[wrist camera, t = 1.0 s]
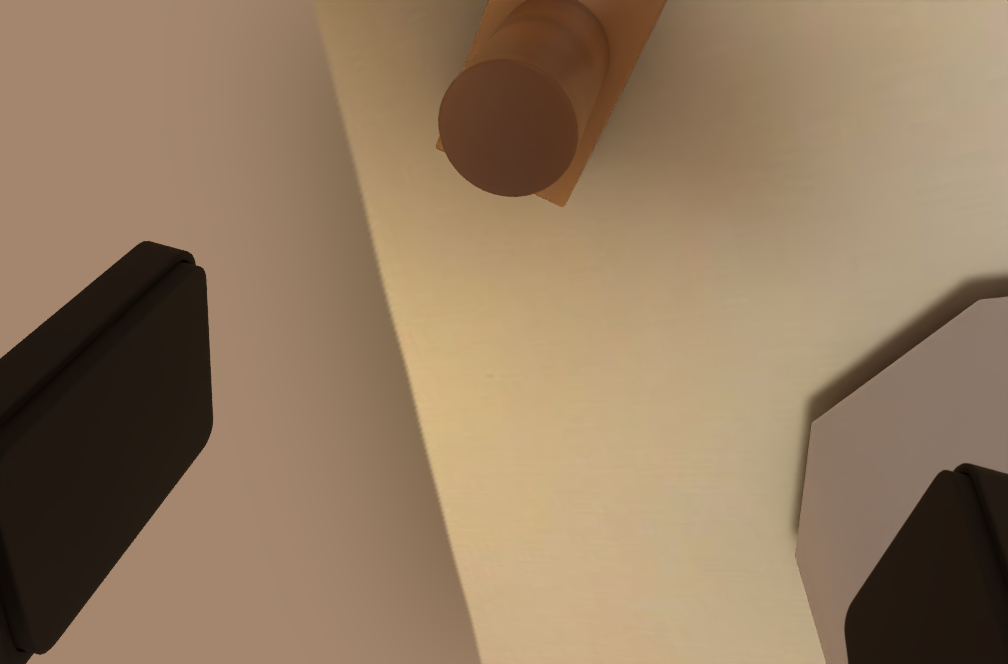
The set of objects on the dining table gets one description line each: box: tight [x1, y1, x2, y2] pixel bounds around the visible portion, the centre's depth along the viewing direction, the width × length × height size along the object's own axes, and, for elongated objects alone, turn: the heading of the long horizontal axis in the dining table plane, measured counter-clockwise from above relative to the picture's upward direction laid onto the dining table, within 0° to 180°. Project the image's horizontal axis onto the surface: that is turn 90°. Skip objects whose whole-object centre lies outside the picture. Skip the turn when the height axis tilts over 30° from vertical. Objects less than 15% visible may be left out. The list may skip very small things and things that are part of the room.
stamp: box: [436, 0, 667, 207], centre depth 23 cm, size 4×8×9 cm, turn 159°
